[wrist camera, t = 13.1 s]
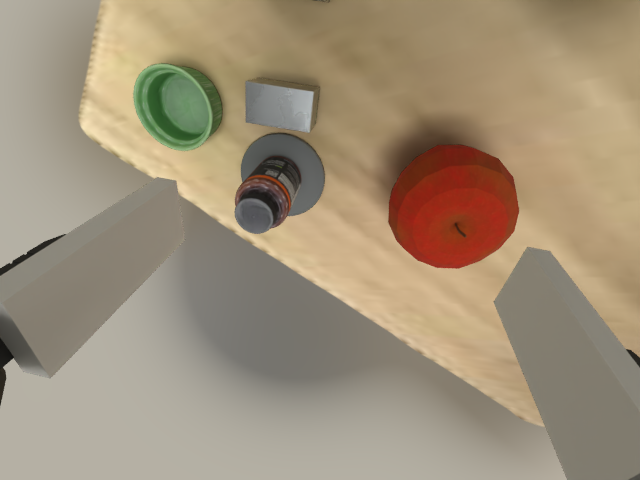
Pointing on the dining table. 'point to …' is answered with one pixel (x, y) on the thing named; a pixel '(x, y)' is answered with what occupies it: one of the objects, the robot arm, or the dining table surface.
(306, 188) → the coaster
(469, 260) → the apple
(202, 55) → the dining table surface
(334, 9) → the dining table surface
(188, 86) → the ramekin
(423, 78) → the dining table surface
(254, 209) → the supplement bottle
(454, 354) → the dining table surface
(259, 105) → the vise
